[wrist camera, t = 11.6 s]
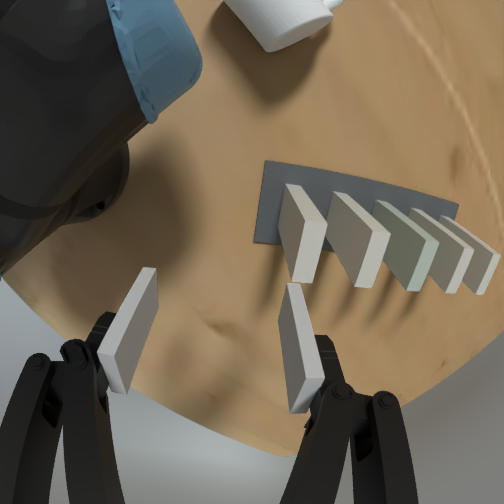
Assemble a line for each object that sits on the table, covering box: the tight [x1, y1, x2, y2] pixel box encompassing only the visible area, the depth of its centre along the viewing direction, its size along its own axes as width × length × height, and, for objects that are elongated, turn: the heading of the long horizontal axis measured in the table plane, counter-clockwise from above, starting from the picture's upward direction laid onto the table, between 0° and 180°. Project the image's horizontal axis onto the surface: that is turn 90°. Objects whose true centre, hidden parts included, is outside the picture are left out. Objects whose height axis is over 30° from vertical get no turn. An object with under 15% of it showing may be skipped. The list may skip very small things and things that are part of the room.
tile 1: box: [278, 184, 328, 283], centre depth 28 cm, size 2×5×12 cm, turn 173°
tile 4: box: [408, 208, 474, 293], centre depth 29 cm, size 2×5×12 cm, turn 172°
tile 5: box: [439, 215, 501, 295], centre depth 29 cm, size 2×5×12 cm, turn 172°
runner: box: [254, 160, 459, 251], centre depth 34 cm, size 29×10×1 cm, turn 82°
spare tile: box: [371, 200, 439, 291], centre depth 28 cm, size 2×5×12 cm, turn 173°
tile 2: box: [325, 191, 391, 288], centre depth 28 cm, size 2×5×12 cm, turn 172°
